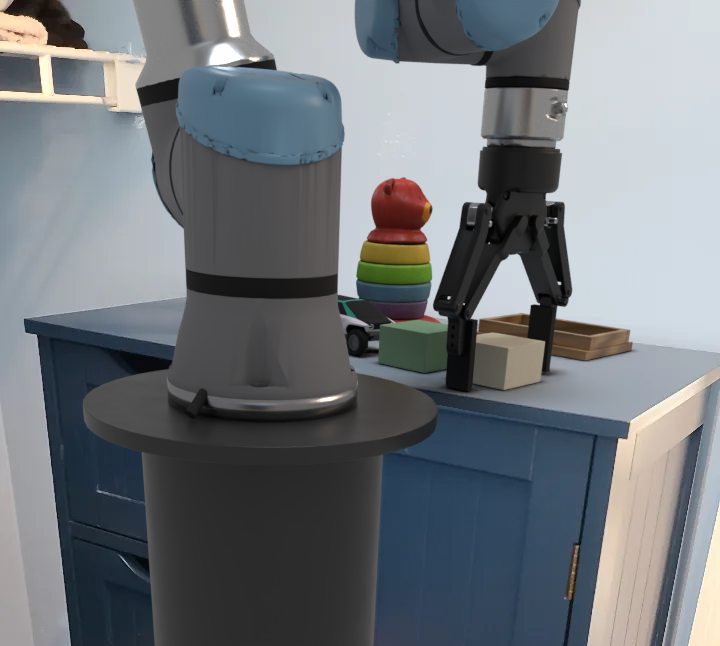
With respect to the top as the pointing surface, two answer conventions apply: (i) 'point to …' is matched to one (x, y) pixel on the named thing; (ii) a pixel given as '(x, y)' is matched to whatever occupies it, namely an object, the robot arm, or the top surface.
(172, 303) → the top surface
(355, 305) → the toy car
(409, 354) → the sage block
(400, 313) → the stacking bear
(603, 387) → the top surface
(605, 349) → the frame
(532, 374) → the beige block
